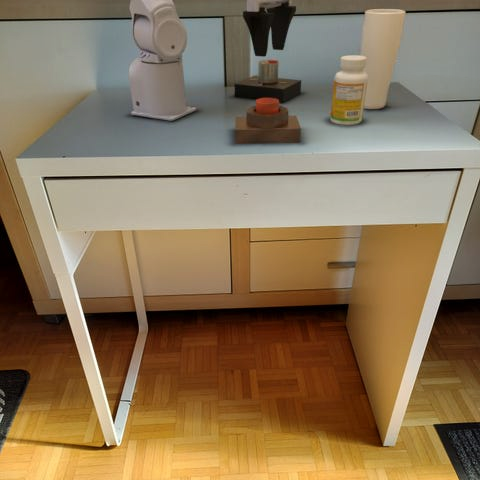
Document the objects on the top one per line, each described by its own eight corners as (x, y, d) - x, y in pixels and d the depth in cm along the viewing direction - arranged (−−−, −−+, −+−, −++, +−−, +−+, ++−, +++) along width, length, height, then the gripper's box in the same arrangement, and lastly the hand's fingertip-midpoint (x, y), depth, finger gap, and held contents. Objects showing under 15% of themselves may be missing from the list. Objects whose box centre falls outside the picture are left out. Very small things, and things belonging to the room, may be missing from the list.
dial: (254, 82, 92) (254, 60, 89) (263, 78, 94) (264, 57, 92) (272, 84, 90) (273, 62, 88) (281, 80, 93) (282, 58, 90)
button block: (235, 144, 70) (235, 116, 68) (235, 130, 76) (235, 104, 73) (300, 142, 70) (301, 115, 68) (295, 129, 76) (297, 103, 73)
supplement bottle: (339, 115, 82) (347, 53, 75) (367, 120, 79) (376, 56, 73) (324, 122, 78) (330, 58, 72) (352, 127, 76) (360, 61, 70)
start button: (256, 116, 69) (256, 103, 68) (255, 109, 72) (255, 97, 71) (279, 115, 69) (279, 103, 68) (277, 109, 72) (278, 97, 71)
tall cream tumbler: (387, 112, 82) (405, 13, 73) (349, 109, 84) (362, 12, 75) (390, 103, 87) (407, 9, 78) (354, 100, 89) (367, 8, 80)
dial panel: (234, 97, 93) (234, 82, 91) (254, 88, 99) (254, 74, 97) (283, 103, 89) (283, 88, 87) (300, 93, 94) (301, 79, 93)
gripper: (273, -35, 73) (271, 60, 82) (308, -38, 83) (303, 48, 92) (235, -35, 76) (237, 57, 85) (274, -37, 86) (272, 46, 94)
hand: (269, 52), depth 88 cm, fingers open, 7 cm apart
